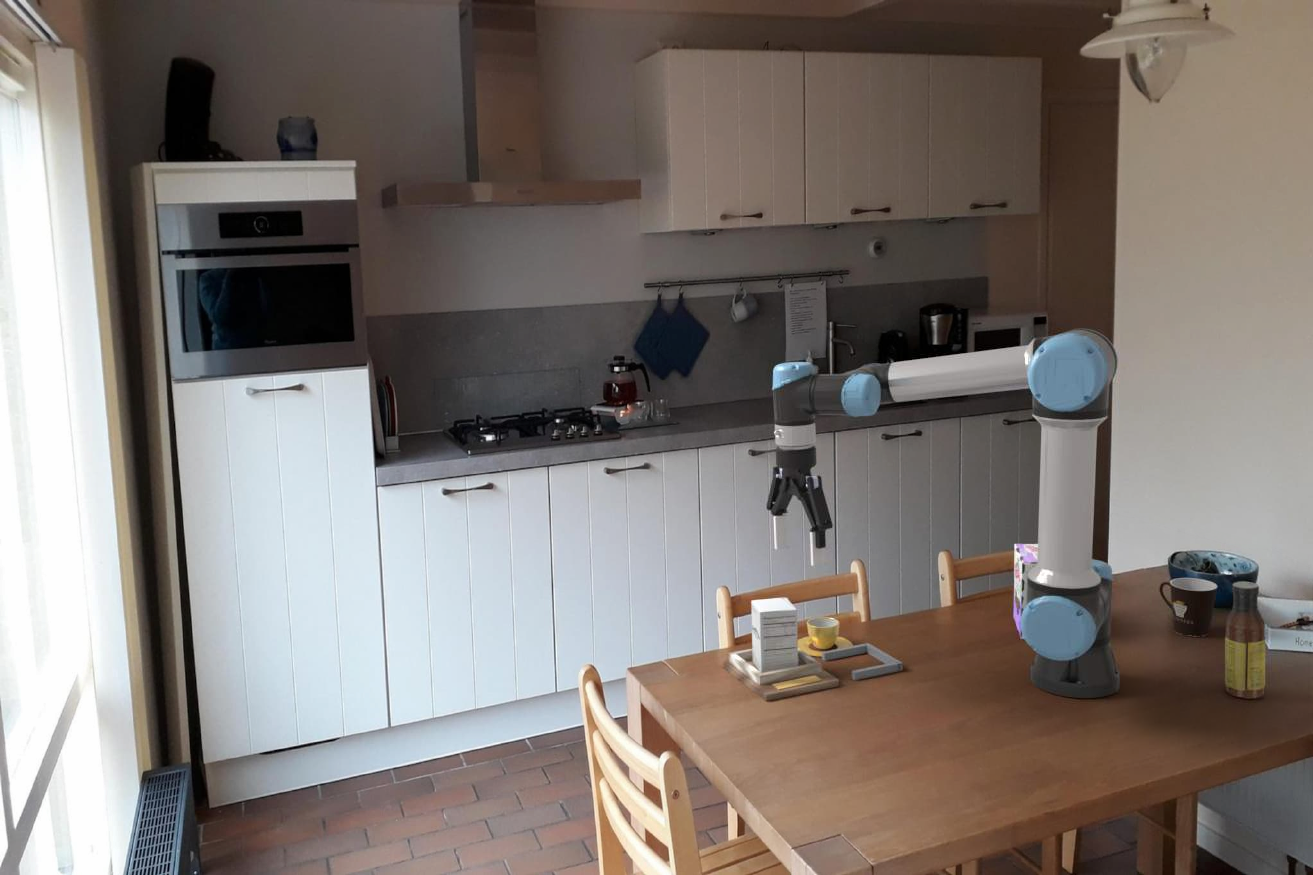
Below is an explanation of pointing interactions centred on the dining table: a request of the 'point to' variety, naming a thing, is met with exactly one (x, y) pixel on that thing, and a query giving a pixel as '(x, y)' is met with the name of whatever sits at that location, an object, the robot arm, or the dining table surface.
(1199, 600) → the coffee mug
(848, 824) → the dining table surface
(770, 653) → the supplement box
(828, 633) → the cup
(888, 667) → the bracket
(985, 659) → the dining table surface
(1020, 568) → the candy box
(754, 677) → the board
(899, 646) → the dining table surface
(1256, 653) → the sauce bottle
